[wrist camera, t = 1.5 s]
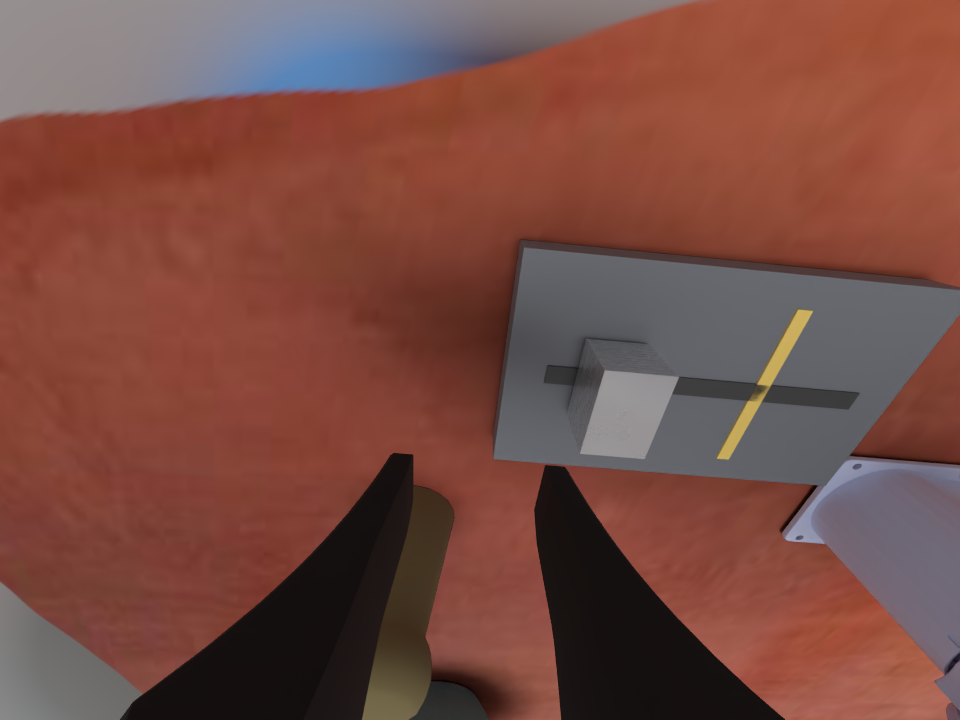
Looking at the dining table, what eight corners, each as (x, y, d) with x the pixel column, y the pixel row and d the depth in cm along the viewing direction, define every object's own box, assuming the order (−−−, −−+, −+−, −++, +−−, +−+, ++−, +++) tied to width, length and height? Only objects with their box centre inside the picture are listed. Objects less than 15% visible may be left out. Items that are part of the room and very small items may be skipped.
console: (926, 279, 17) (980, 292, 15) (799, 461, 23) (826, 487, 21) (520, 239, 17) (524, 248, 15) (492, 436, 22) (493, 460, 20)
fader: (648, 344, 17) (679, 376, 14) (622, 418, 19) (644, 459, 16) (585, 338, 17) (604, 370, 14) (566, 413, 19) (579, 453, 16)
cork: (442, 479, 24) (412, 685, 15) (463, 535, 27) (449, 739, 17) (359, 491, 25) (279, 695, 15) (388, 545, 28) (335, 746, 18)
